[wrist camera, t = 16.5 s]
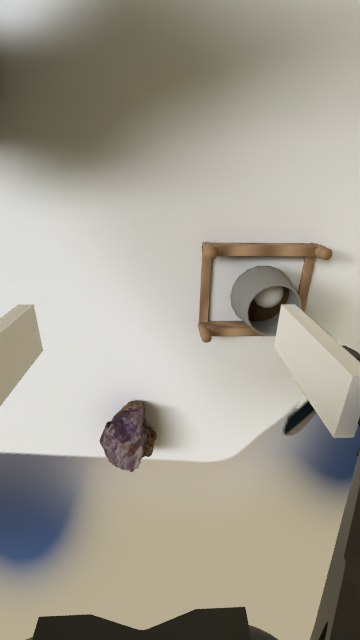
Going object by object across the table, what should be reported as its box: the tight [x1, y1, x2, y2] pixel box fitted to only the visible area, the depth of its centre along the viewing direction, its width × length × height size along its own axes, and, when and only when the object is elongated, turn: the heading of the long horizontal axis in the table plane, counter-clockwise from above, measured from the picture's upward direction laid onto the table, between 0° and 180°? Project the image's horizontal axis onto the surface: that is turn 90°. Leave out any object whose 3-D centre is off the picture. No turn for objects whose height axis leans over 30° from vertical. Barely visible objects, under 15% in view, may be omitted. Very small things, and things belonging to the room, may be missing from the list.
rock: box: [100, 401, 157, 472], centre depth 56 cm, size 12×9×10 cm
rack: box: [198, 242, 332, 343], centre depth 46 cm, size 18×15×5 cm
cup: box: [231, 266, 301, 335], centre depth 44 cm, size 10×9×10 cm
